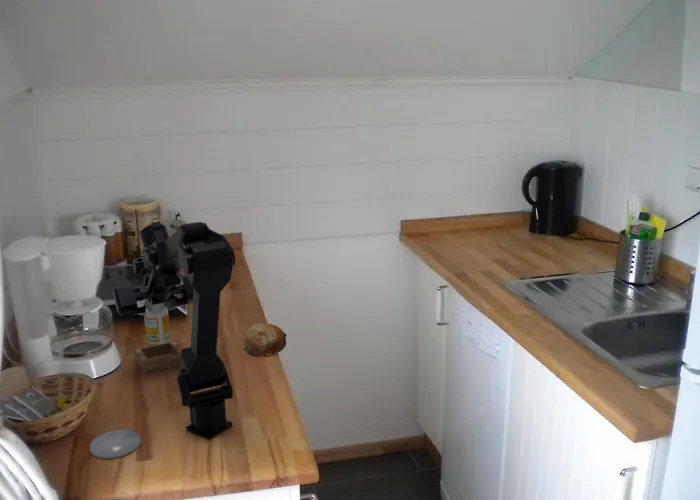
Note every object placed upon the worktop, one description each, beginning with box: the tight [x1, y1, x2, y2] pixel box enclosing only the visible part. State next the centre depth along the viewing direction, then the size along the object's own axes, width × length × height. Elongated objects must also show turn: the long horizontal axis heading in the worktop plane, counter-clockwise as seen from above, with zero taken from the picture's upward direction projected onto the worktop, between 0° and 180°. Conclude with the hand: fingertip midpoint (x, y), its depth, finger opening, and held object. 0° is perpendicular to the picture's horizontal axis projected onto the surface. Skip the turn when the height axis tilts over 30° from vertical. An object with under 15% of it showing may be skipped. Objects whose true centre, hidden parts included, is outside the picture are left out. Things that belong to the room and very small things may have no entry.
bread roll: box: [243, 322, 287, 356], centre depth 174 cm, size 10×10×8 cm
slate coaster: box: [89, 429, 142, 460], centre depth 133 cm, size 9×9×1 cm
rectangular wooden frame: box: [133, 339, 183, 374], centre depth 167 cm, size 9×9×2 cm
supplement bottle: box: [143, 303, 171, 345], centre depth 165 cm, size 5×5×10 cm
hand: (154, 311), depth 165 cm, fingers closed on supplement bottle, 5 cm apart
